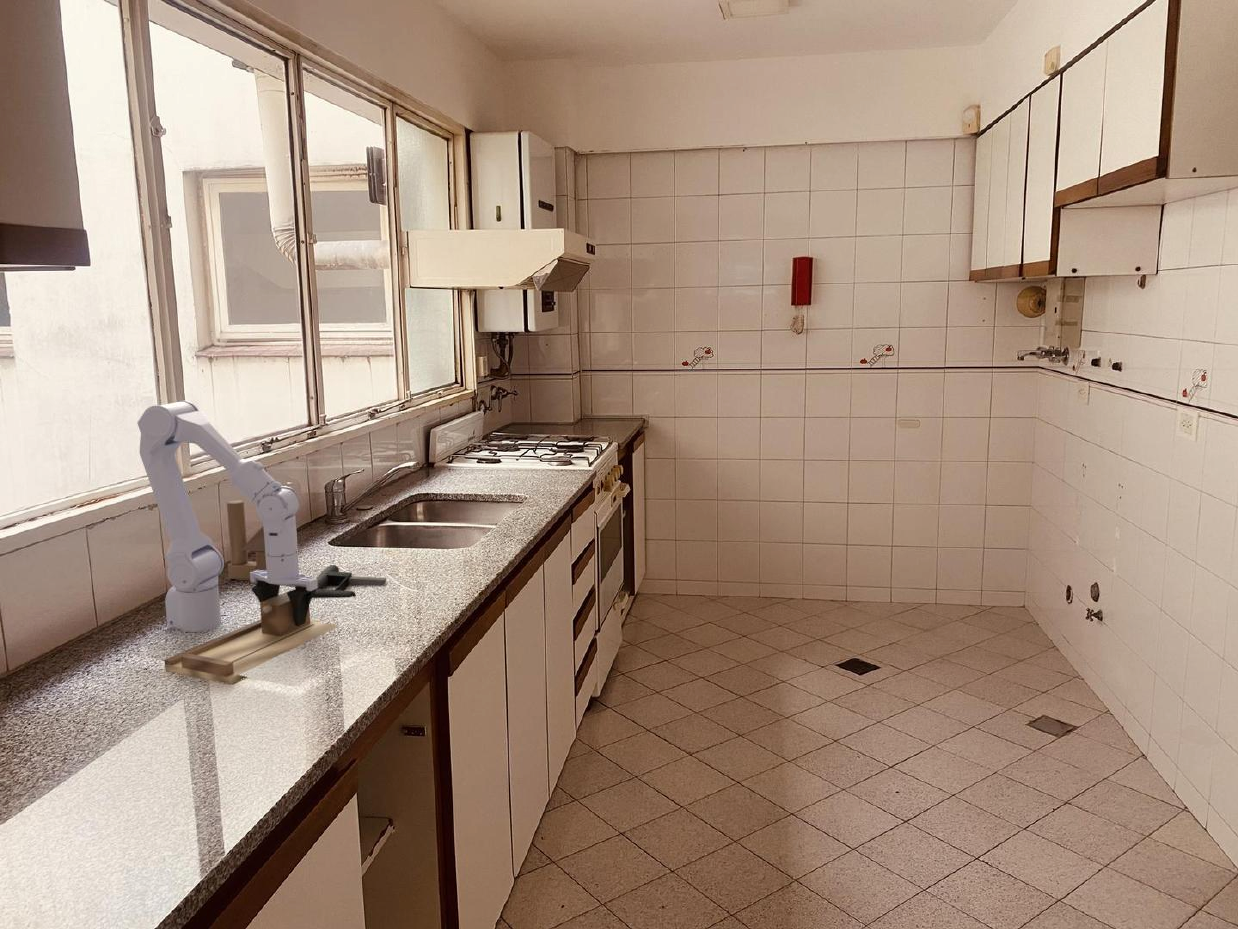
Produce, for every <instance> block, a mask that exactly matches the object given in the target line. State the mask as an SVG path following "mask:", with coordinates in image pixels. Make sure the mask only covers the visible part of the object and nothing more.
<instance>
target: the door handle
mask: <svg viewBox="0 0 1238 929" xmlns="http://www.w3.org/2000/svg"><path fill="white" fill-rule="evenodd" d="M352 573H353V572H349V571H348V572H346V571H340V569H339V567H338V566H337V565H335V564H331V565H328V566H326V568H325V569H324V570H322V571H321V573H320V574H318V575H317V577H315V578H317V584H318V588H317V589H316V592H315V593H314V595H313V597H312V599H317V598H318V599H319V598H320V599H323V598H324V599H327V598H328V599H329V598H330V599H332V598H333V599H335V598H337V599H338V598H342V599H343V598H352V597H354V598H355V597H357V594H356V593H355V591H353V590H346V589H348V587H349V586H385V585H386V584H387V578H386V577H373V576H358V575H357V576H356V575H355V576H353V574H352ZM385 583H386V584H385ZM384 584H385V585H384ZM328 587H335V589H326V588H328Z"/></svg>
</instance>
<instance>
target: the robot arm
mask: <svg viewBox="0 0 1238 929" xmlns="http://www.w3.org/2000/svg"><path fill="white" fill-rule="evenodd" d="M137 426H138V429H139V432H140V439H139V440H140V441H139V456H140V458H141V459H140V460H141V462H142V465H143V468H144V470H145V473H146V477H147V478H148V482H149V484H150V487H151V490H152V493H153V496H154V498H155V501H156V503H157V507H158V509H159V512H160V516H161V518H162V521H163V524H164V527H165V530H166V533H167V535H168V538H169V540H170V544H169V546H168V549H167V551H166V554H165V559H166V561H167V562H166V563H167V572H166V573H167V578H168V582H169V583H170V585H172V586H171V587H170V588H169V589H168V590H167V593H166V595H165V600H164V602H165V612H166V613H165V614H166V624H167V629H171V628H175V629H178V630H181V631H184V632H188V633H189V632H193V633H194V632H196V633H197V632H203V631H209V630H213V629H215V628H218V627H219V626H220V625H221V624H222V617H221V605H220V604H221V602H220V590H219V575H220V574H222V571H223V570H224V567H225V561H224V557H223V555H222V553H221V552H220V551H219V550H218V548H217V547H215V545H214V542H213V540H212V538H210V537H209V536H207V535H206V534H205V533H203V532H202V531H201V527H200V525H199V522H198V520H197V519H198V518H197V516H196V513H195V510H194V507H193V505H192V502H191V499H190V496H189V493H188V491H187V490H188V489H187V487H186V485H185V482H184V479H183V476H182V474H181V471H180V468H179V464H178V462H177V459H176V453H177V451H178V449H179V448H180V446H181V444H182V443H187V444H193V445H194V444H195V445H196V446H198V447H199V448H200V449H201V450H203V452H205V453H206V454H207V455H208V456H209V457H211V458H212V459H213V460H214V461H215V462H216V463H218V464H219V465H220V466H222V467H223V468H224V469H225V470H226V471H228V473H229V474H228V475H229V476H228V477H229V482H230V483H231V484H232V485H233V486H234V487H235V488H236V489H237V490H238V491H239V492H241V494H242V495H243V496H244V497H245V498H247V500H249V501H250V502H251V503H252V504H253V505H254V506H255V513H256V516H257V517H258V519H259V520H261V522H262V526H263V529H264V539H265V555H266V570H267V571H265V570H256V571H253V572H250V580H251V581H250V583H256V584H255V585H253V586H252V587H251V592H252V593H253V594H254V595H255V597H256V598H257V600H258V601H259V603H260V602H263V601H265V600H268V599H270V598H273V597H275V596H278V595H280V594H279V592H280V587H281V586H282V587H283V586H284V587H289V588H294V589H292V590H291V591H290V590H289V592H288V591H286V592H287V595H288V597H289V599H290V602H291V605H292V609H293V617H294V623H295V626H300V625H302V624H304V623H305V622H306V617H307V612H308V608H309V609H310V604H311V602H312V600H313V598H312V597H313V595H314V593H315V592H316V589H317V588H318V584H317V578H316V577H311V576H308V575H306V574H304V573H302V570H301V569H300V566H299V552H298V551H299V550H298V549H299V548H298V534H297V533H298V532H297V521H296V520H297V518H296V513H298V511H299V510H300V507H301V500H300V496H299V494H298V493H297V492H296V491H295V489H294V488H292V487H290V486H285V485H284V486H283V484H282V483H281V482H280V481H276V479H275V478H273V477H272V476H271V475H270V474H269V473H268V472H267V471H266V470H265V469H264V467H265V466H264V464H263V463H262V462H260V461H258V462H256V461H255V460H254V459H244V458H243V456H241V454H239V453H238V452H237V451H236V450H235V448H234V447H233V446H232V445H231V444H230V443H229V442H228V441H227V440H226V439H225V438H224V437H223V435H221V433H219V431H217V429H216V428H215V427H214V426H213V425H212V424H211V422H210V421H209V418H208V416H207V414H206V413H204V412H203V411H202V410H200V409H199V408H198V406H196V404H194V403H193V402H191V401H188V400H178V401H175V402H172V403H166V404H161V405H160V404H156V405H152V406H149V407H148V408H146V409H145V410H144V412H143V413H142V415H141V417H139V419H138V421H137Z"/></svg>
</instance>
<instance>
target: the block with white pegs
mask: <svg viewBox="0 0 1238 929" xmlns="http://www.w3.org/2000/svg"><path fill="white" fill-rule="evenodd" d="M289 591H292V590H289ZM289 591H286V592H283V593H281V594H278V596H275V597H273V598H270V599H268V600H265V601H263V602H259V606H260V607H259V608H260V609H259V610H260V619H261V624H262V633H263V634H269V635H274V636H280V637H281V636H283V635H285V634H287V633H289V632H292V631H294V630H296V629H298V628H300V627H303V626H305V625H307V624H309V623H310V621H311V613H310V611H311V610H310V607H309V608H308V612H307V617H306V622H305V623H304V624H302V625H300V626H295V623H294V617H293V609H292V605H291V602H290V599H289V597H288V595H287V592H289Z"/></svg>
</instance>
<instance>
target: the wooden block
mask: <svg viewBox="0 0 1238 929" xmlns="http://www.w3.org/2000/svg"><path fill="white" fill-rule="evenodd" d="M226 511H227V512H226V515H227V525H228V537H229V549H230V550H229V551H230V563H228V564H227V573H228V580H231V579H236V580H235V581H249V582H251V580H250V572H253V571H256V570H265V571H267V570H266V555H265V539H264V529H263V525H262V526H261V527H260V528H259V530H257V532H255V534H254V535H253V536H252V537H251V538H250V539H249V540H248V541H247V528H246V527H247V526H246V515H245V514H246V512H245V501H243V500H238V499H237V500H235V499H234V500H230V501H227V502H226ZM250 551H251V552H255V561H249V557H248V552H250Z"/></svg>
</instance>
